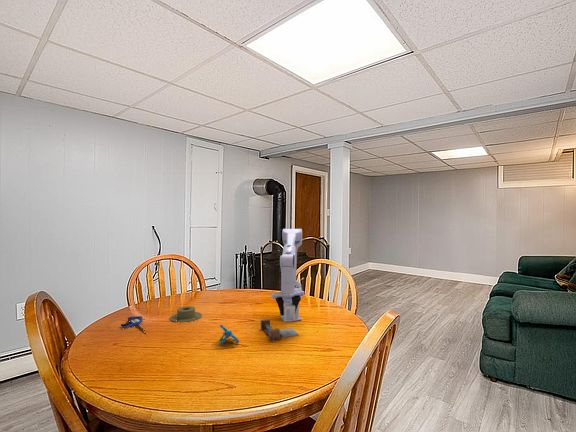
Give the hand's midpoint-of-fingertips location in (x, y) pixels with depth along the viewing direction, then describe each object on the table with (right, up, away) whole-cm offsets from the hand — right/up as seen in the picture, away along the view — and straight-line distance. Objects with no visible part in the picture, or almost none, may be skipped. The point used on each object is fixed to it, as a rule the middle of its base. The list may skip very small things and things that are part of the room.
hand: (287, 314), depth 129 cm
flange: (-50, -9, +20) cm, 55 cm away
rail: (-8, -8, -1) cm, 11 cm away
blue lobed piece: (-23, -9, -9) cm, 26 cm away
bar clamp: (-65, -9, +3) cm, 65 cm away
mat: (0, -8, 0) cm, 8 cm away
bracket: (0, -2, 0) cm, 2 cm away
